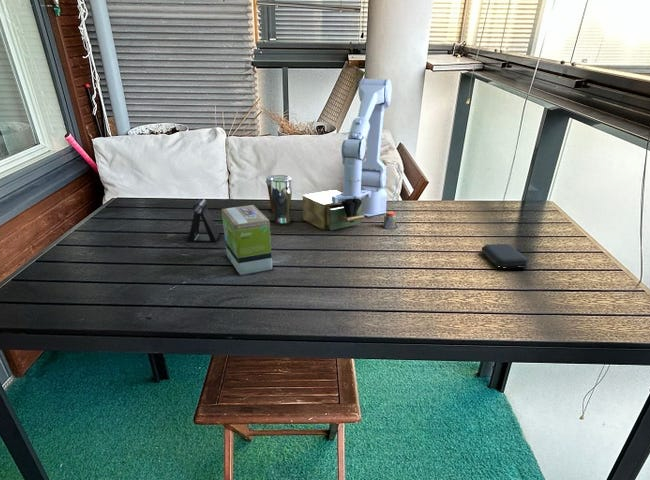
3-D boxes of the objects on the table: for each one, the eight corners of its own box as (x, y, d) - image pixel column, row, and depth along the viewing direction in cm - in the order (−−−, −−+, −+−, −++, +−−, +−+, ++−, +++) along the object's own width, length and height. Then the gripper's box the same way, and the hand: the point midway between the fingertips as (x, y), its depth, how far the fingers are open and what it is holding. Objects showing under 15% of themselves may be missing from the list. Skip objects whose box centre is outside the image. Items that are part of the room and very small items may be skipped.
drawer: (370, 228, 165) (371, 208, 162) (340, 234, 160) (340, 214, 156) (340, 214, 178) (340, 195, 174) (311, 220, 172) (311, 201, 168)
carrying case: (533, 270, 138) (511, 251, 150) (536, 260, 136) (514, 241, 149) (497, 271, 137) (478, 252, 150) (499, 261, 136) (480, 242, 148)
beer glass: (270, 220, 175) (267, 177, 166) (288, 218, 177) (286, 175, 169) (277, 226, 169) (275, 181, 161) (295, 223, 172) (294, 179, 164)
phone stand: (188, 241, 157) (182, 203, 150) (193, 235, 162) (187, 198, 155) (216, 241, 156) (211, 204, 150) (219, 235, 161) (215, 198, 155)
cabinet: (355, 223, 173) (356, 198, 168) (323, 229, 166) (323, 204, 162) (333, 213, 182) (334, 189, 177) (302, 219, 176) (302, 195, 171)
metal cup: (264, 213, 182) (262, 180, 175) (270, 206, 190) (269, 174, 183) (289, 214, 180) (288, 181, 174) (294, 207, 188) (293, 175, 182)
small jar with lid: (390, 224, 172) (391, 210, 169) (398, 227, 169) (399, 213, 166) (381, 226, 170) (382, 211, 167) (388, 229, 167) (389, 215, 164)
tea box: (225, 257, 146) (220, 207, 137) (257, 252, 149) (254, 203, 141) (239, 276, 134) (234, 223, 126) (273, 270, 137) (270, 218, 129)
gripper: (340, 185, 150) (339, 228, 157) (377, 179, 156) (375, 221, 164) (328, 180, 154) (327, 222, 162) (364, 174, 161) (362, 215, 169)
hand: (350, 221), depth 163 cm, fingers closed
